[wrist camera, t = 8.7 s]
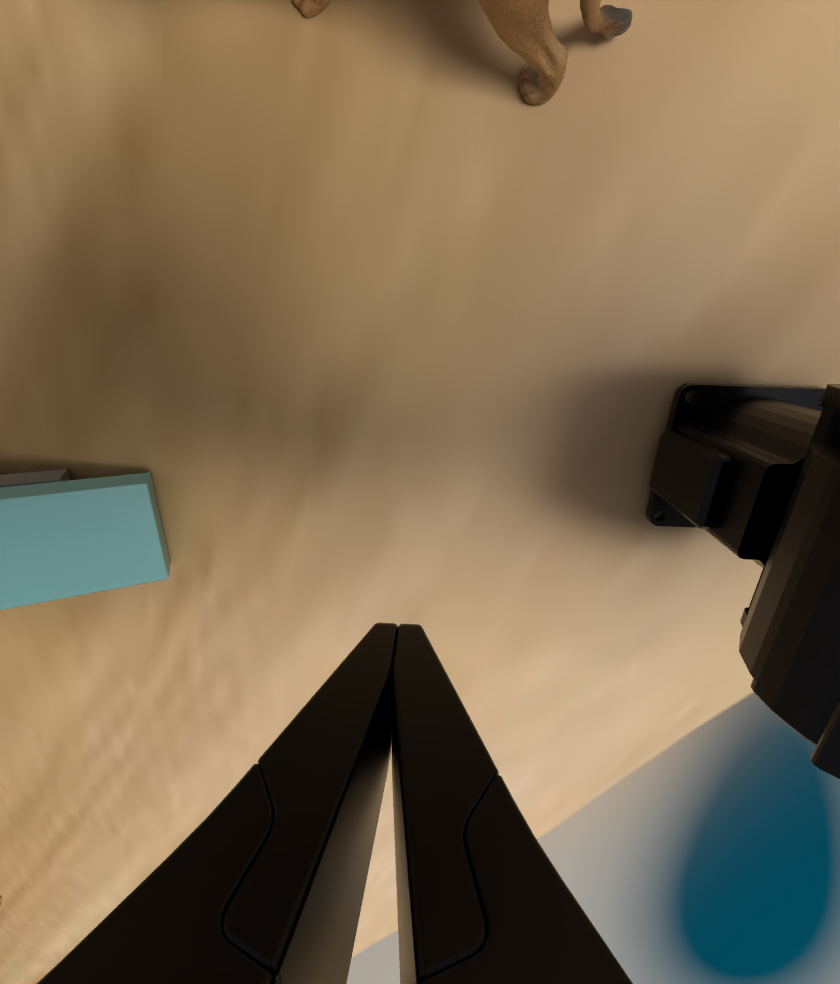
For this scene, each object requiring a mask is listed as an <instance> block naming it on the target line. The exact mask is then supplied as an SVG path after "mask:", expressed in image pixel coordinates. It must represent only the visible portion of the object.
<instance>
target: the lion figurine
mask: <svg viewBox="0 0 840 984" xmlns="http://www.w3.org/2000/svg"><path fill="white" fill-rule="evenodd" d="M293 2H294V4H295V5H296V6H297V7H298V8H299V9H300V11H301V12H302V14H303V15H304V16H305V17H307V18H309V17H312V16H314V15H316V14H318V13H320V12H321V11H322V10H323V9H324V8H325V7H326V6H327V4H328V3H329V0H293ZM479 2H480V4H481V6H482V8H483V10H484V12H485V14H486V15H487V17H488V19H489V21H490V22H491V24H492V26H493V28H494V29H495V31H496V33H497V34H498V36H499V37H500V38H501V40H502V41H503V42H504V43H505V44H506V45H507V46H508V47H509V48H510V49H512V50H513V51H514V52H516V53H517V54H518V55H519V56H520V57H521V58H522V59H524V60H525V61H526V62H527V63H528V64H527V65H526V66H525V67H524V68H523V69H522V70H521V72H520V75H519V77H520V91H521V93H522V95H523V97H524V99H525V101H526V102H527V103H529V104H532V105H540V104H543V103H546V102H547V101H549V100H550V99H551V97H552V96H553V95H554V94H555V93H556V91H557V90H558V88H559V86H560V84H561V82H562V79H563V77H564V73H565V68H566V62H567V57H568V51H567V48H566V47H565V46H564V45H562V44H561V43H560V42H559V41H558V39H557V38H556V36H555V34H554V32H553V29H552V26H551V21H550V17H549V11H548V4H549V0H479ZM600 2H601V0H580V9H581V13H582V18H583V21H584V24H585V27H586V28H587V29H588V30H589V31H590V32H595V33H597V34H599V35H601V36H602V37H604V38H605V39H607V40H609V39H611V38H612V37H613V36H617V35H621V34H623V33H624V32H626V31H627V29H628V28H629V27H630V25H631V21H632V11H631V10H629V9H622V8H615V7H613V6H611V5H604V6H602V7H601V8H600Z"/></svg>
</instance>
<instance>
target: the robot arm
mask: <svg viewBox="0 0 840 984" xmlns="http://www.w3.org/2000/svg"><path fill="white" fill-rule="evenodd" d="M689 391H692V397H691V399H689V400H688V401H686V400H685V396H686V394H687V393H688V392H689ZM822 397H823V398H822ZM821 398H822V400H821V402H822V403H821V404H819V400H820V399H821ZM649 486H650V487H651V493H650V498H649V502H648V506H647V510H646V517H647V519H648V520H649V521H650V522H651V523H652V524H654V525H656V526H674V527H698V528H704V529H705V530H706V531H707V532H709V533H710V534H711V535H712V536H713V537H715V538H716V539H717V540H718V541H720V542H721V543H722V544H723V545H725V546H726V547H727V548H728V549H730V550H731V551H732V552H733V553H735V554H736V555H737V556H738V557H739V558H742V559H752V560H753V561H755V562H756V563H757V564H758V565H760V566H761V567H762V568H763V571H762V573H761V576H760V579H759V581H758V584H757V587H756V589H755V592H754V595H753V597H752V600H751V603H750V606H749V607H748V608H745V609H744V612H743V615H742V618H741V620H740V621H741V624H742V627H743V628H742V631H741V634H740V644H739V652H740V654H741V656H742V658H743V660H744V662H745V664H746V666H747V668H748V670H749V672H750V674H751V675H752V677H753V681H752V683H751V688H752V690H753V691H754V692H755V693H756V695H757V696H758V697H759V698H760V699H761V700H762V701H763V702H764V703H765V704H766V705H767V706H768V707H769V708H770V709H771V710H772V711H773V713H774V714H775V715H776V716H777V717H778V718H780V719H781V720H782V721H783V722H785V723H786V724H787V725H788V726H790V727H791V728H792V729H793V730H795V731H796V732H797V733H798V734H799V735H801V736H802V737H803V738H805V739H806V740H808V741H809V742H811V743H812V744H814V745H815V746H816V748H815V750H814V752H813V754H812V756H811V761H812V763H813V764H814V765H815V766H817V767H818V768H819V769H821V770H823V771H825V772H827V773H829V774H831V775H833V776H835V777H837V778H839V779H840V384H827V387H826V388H818V387H788V386H758V385H728V384H698V383H688V384H684V385H682V386H680V387H679V388H678V389H677V390H676V392H675V395H674V399H673V403H672V407H671V411H670V415H669V419H668V423H667V428H666V431H665V432H664V433H663V434H662V435H661V437H660V442H659V446H658V450H657V454H656V458H655V462H654V467H653V471H652V475H651V479H650V483H649ZM660 511H662V514H661V515H660V516H659V517H656V518H655V515H656V513H658V512H660ZM391 745H392V781H393V807H394V832H395V857H396V883H397V908H398V934H399V959H400V983H401V984H633V983H632V982H631V980H630V979H629V977H628V976H627V974H626V973H625V971H624V970H623V968H622V967H621V965H620V964H619V963H618V961H617V960H616V958H615V957H614V955H613V954H612V952H611V951H610V950H609V948H608V946H607V945H606V943H605V942H604V940H603V939H602V938H601V936H600V934H599V933H598V931H597V930H596V929H595V927H594V926H593V924H592V923H591V921H590V920H589V918H588V917H587V915H586V914H585V912H584V911H583V909H582V908H581V906H580V905H579V903H578V902H577V900H576V899H575V898H574V896H573V894H572V893H571V892H570V890H569V889H568V887H567V886H566V884H565V883H564V881H563V880H562V879H561V877H560V875H559V874H558V872H557V871H556V869H555V868H554V866H553V864H552V863H551V861H550V860H549V858H548V857H547V855H546V853H545V852H544V850H543V849H542V847H541V846H540V844H539V843H538V841H537V839H536V838H535V836H534V835H533V833H532V831H531V829H530V828H529V826H528V824H527V822H526V820H525V819H524V817H523V815H522V813H521V812H520V810H519V808H518V806H517V805H516V803H515V801H514V799H513V798H512V796H511V794H510V792H509V790H508V788H507V786H506V784H505V782H504V781H503V779H502V777H501V776H500V775H498V770H497V768H496V766H495V764H494V762H493V760H492V758H491V756H490V755H489V753H488V751H487V749H486V747H485V745H484V743H483V741H482V739H481V738H480V736H479V734H478V732H477V730H476V728H475V726H474V724H473V722H472V721H471V719H470V717H469V715H468V713H467V711H466V709H465V707H464V705H463V704H462V702H461V700H460V698H459V696H458V694H457V692H456V690H455V688H454V687H453V685H452V683H451V681H450V679H449V677H448V675H447V673H446V671H445V670H444V668H443V666H442V664H441V662H440V660H439V658H438V656H437V655H436V653H435V651H434V649H433V647H432V645H431V643H430V641H429V639H428V638H427V636H426V634H425V632H424V630H423V628H422V627H421V626H420V625H418V624H401V625H399V627H398V626H397V625H396V624H394V623H376V624H375V625H374V626H373V627H372V628H371V629H370V631H369V632H368V633H367V634H366V635H365V636H364V637H363V639H362V640H361V641H360V642H359V643H358V644H357V646H356V647H355V648H354V649H353V650H352V651H351V653H350V654H349V655H348V656H347V657H346V658H345V660H344V661H343V662H342V663H341V664H340V665H339V667H338V668H337V669H336V670H335V671H334V672H333V674H332V675H331V676H330V677H329V678H328V679H327V681H326V682H325V683H324V684H323V685H322V686H321V688H320V689H319V690H318V691H317V692H316V693H315V695H314V696H313V697H312V698H311V699H310V700H309V702H308V703H307V704H306V705H305V706H304V707H303V708H302V710H301V711H300V712H299V713H298V714H297V715H296V717H295V718H294V719H293V720H292V721H291V722H290V724H289V725H288V726H287V727H286V728H285V729H284V731H283V732H282V733H281V734H280V735H279V736H278V738H277V739H276V740H275V741H274V742H273V743H272V745H271V746H270V747H269V748H268V749H267V750H266V752H265V753H264V754H263V755H262V756H261V757H260V759H259V760H258V764H254V765H253V766H252V767H251V769H250V770H249V771H248V772H247V773H246V774H245V776H244V777H243V778H242V779H241V780H240V781H239V783H238V784H237V785H236V786H235V787H234V788H233V789H232V790H231V792H230V793H229V794H228V795H227V796H226V797H225V798H224V799H223V800H222V802H221V803H220V804H219V805H218V806H217V807H216V808H215V809H214V810H213V812H212V813H211V814H210V815H209V816H208V817H207V818H206V819H205V820H204V821H203V822H202V823H201V824H200V825H199V826H198V827H197V828H196V829H195V830H194V831H193V832H192V833H191V834H190V835H189V836H188V837H187V838H186V839H185V840H184V841H183V842H182V843H181V844H180V845H179V846H178V847H177V848H176V849H175V850H174V851H173V852H172V853H171V855H170V856H169V857H168V858H167V859H165V860H164V861H163V862H162V863H161V864H160V865H159V866H158V867H157V868H156V869H155V870H154V871H153V872H152V873H151V874H150V875H149V876H148V877H147V878H146V879H145V880H144V881H143V882H142V883H141V884H140V885H139V886H138V887H137V888H136V889H135V890H134V891H133V892H132V893H131V894H129V895H128V896H127V897H126V898H125V899H124V900H123V901H122V902H121V903H120V904H119V905H118V906H117V907H116V908H115V909H114V910H113V911H112V912H111V913H110V914H109V915H108V916H107V917H106V918H105V919H104V920H103V921H102V922H101V923H100V924H99V925H98V926H97V927H96V928H95V929H94V930H92V931H91V932H90V933H89V934H88V935H87V936H86V937H85V938H84V939H83V940H82V941H81V942H80V943H79V944H78V945H77V946H76V947H75V948H74V949H73V950H72V951H71V952H70V953H69V954H68V955H67V956H66V957H65V958H64V959H63V960H62V961H61V962H60V963H58V964H57V965H56V966H55V967H54V968H53V969H52V970H51V971H50V972H49V973H48V974H47V975H46V976H44V977H43V978H42V979H41V980H40V981H39V982H38V983H37V984H346V983H347V977H348V972H349V967H350V962H351V957H352V952H353V947H354V941H355V936H356V931H357V926H358V921H359V916H360V911H361V905H362V900H363V895H364V890H365V885H366V880H367V874H368V869H369V864H370V859H371V854H372V849H373V844H374V838H375V833H376V828H377V823H378V818H379V813H380V808H381V802H382V797H383V792H384V787H385V782H386V777H387V772H388V766H389V760H390V754H391Z"/></svg>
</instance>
